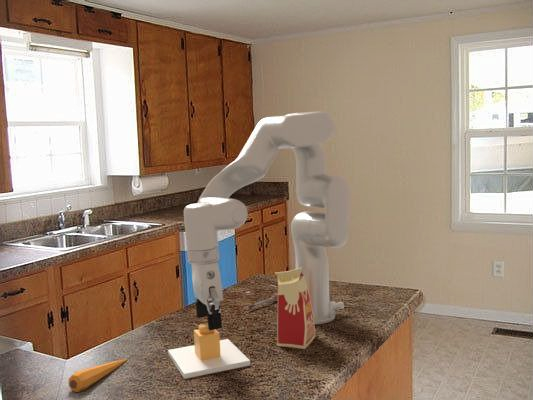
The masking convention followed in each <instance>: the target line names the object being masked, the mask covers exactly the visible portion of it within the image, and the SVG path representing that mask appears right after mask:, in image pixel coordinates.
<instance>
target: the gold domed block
mask: <svg viewBox="0 0 533 400" xmlns="http://www.w3.org/2000/svg"><path fill="white" fill-rule="evenodd" d="M193 339H194V340H193V341H194V343H193V345H195V354H196V355H197V357H198V358H199V359H200V360H201V361H202V360H207V359H212V358H217V357H221V355H220V340H221V339H220V332H219V331H218V329H215V330H211V331H210V330H209V329H208V322H204V323H201V324H198V329H194V330H193Z"/></svg>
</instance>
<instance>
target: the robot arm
mask: <svg viewBox="0 0 533 400" xmlns="http://www.w3.org/2000/svg"><path fill="white" fill-rule="evenodd" d="M335 128H336V127H335V121H334V119H333V117H332V115H330V114H329V113H328V112H325V111H321V110H320V111H307V112H305V111H303V112H293V113H287V114H285V115H274V116H266V117H264V118H262V119H261V120H259V121H258V123H256V126H255V127H254V129H253V130H252V132H251V134H250V136H249V137H248V139H247V141H246V142H245V144H244V145H243V146H242V147H243V148H242V149H241V150H240V152H239V154H238V156H237V157H236V159H235V160H234V161H232V162H231V163H229V164H228V165H227V166H225V167H224V168H223V169H222V170H221V171H220V172H218V173H217V174H216V175H215V176H214V177H213V178H212V179H211V180H210V181H209V182H208V183H207V184H206V186H205V188H204V189H203V191H202V193H201V195H200V196H199V198H198V200H197V202H196V203H190V204H188V205H186V206H185V207H184V209H183V219H184V221H183V222H184V232H185V233H184V234H185V242H186V244H185V245H186V252H187V263H189V265H191V279H192V289H193V295H194V296H195V297H194V298H195V299H194V300H195V311H196V317H197V318H198V319H200V318H201V319H202V318H205V317H206V318H207V323H208V329H209V330H210V331H211V330H215V329H216V330H218V329H222V328H223V323H222V314H221V313H222V310H221V304H220V303H222V302H223V300H224V295H223V285H222V277H221V272H220V267H219V266H220V265H219V263H218V262H219V260H220V252H219V237H218V232H219V231H229V230H236V229H239V228H241V227H242V226H243V225H244V224H245V222H246V221H247V219H248V215H249V214H248V209H247V206H246V205H245V203H243V202H242V201H241V200H238V199H236V198H231V196H232V194H234V193H235V192H236V191H238V190H240V189H242V188H243V187H245V186H248V185H251V184H253V183H256V182H258V181H259V180H261V179H263V178H264V177H265V176H266V175H267V173H268V171H269V169H270V167H271V165H272V164H273V162H274V160H275V158H277V155H278V154H279V151H280V150H281V149H291V150H292V151H293V153H294V157H295V161H296V162H295V163H296V184H295V186H296V188H295V189H296V190H295V191H296V199H297V201H298V203H299V204H300V205H302V206H304V207H310V208H320V209H321V208H322V209H324V212H321V211H311V210H309V211H307V210H305V211H300V212H299V213H297V214H296V215H295V216H293V219H292V221H291V223H290V234H291V238H292V243H293V248H294V258H295V269H297V268H301V267H302V270H301V272H302V274H303V275H304V278H305V281H306V285H307V289H308V292H309V296H310V301H311V306H312V312H313V317H314V326H315V325H323V324H327V323H331V322H332V321H334V320H335V319H336V314H335V310H340V309H344V308H345V303H344V301H339V302H336V301H335V300H333V301H330V279H329V257H328V253H327V250H326V248H332V249H337V248H338V249H339V248H341V247H343V246H344V245H346V243H347V241H348V239H349V235H350V228H351V226H350V224H351V223H350V222H351V191H350V187H349V183H348V182H347V180H346V179H345V177H343V176H341V175H338V174H328V173H327V161H326V160H327V159H326V158H327V156H326V154H325V150H324V148H323V146H322V144H325V143H327V142H328V141H329V140H331V138H332V137H333V135H334V132H335Z"/></svg>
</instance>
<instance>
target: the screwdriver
mask: <svg viewBox="0 0 533 400" xmlns="http://www.w3.org/2000/svg"><path fill="white" fill-rule="evenodd" d="M271 295H272V296H271V297H270V298H269V297H268V298H267V299H264V300H261V301H259V302H255V303H253V304H250V305H248V306H246V309H251V308H254V307H257V306H260V305H262V304H265V303H268V302H270V301H273V302H275V301H276V302H278V292H277V293H273V294H271Z"/></svg>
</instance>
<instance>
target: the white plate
mask: <svg viewBox="0 0 533 400" xmlns="http://www.w3.org/2000/svg"><path fill="white" fill-rule="evenodd" d="M167 353H168V354H167V355H168V357H169V358H170V360H171V362H173V364H174V365H175V367H176V368H177V370H178V371H179V373H180V375H181V377H183V379H184V380H187V379H191V378H195V377H199V376H200V377H201V376H205V375H209V374H216V373H220V372H224V371H230V370H234V369H239V368H245V367H248V366H251V360H250V359H249V358H248V357H247V356H246V355H245V354H244V353H243V352H242V351H241V350H240V349H239V348H238V347H237V346H236V345H235V344H234V343H233V342H231V340H230V339H228V338H225V339H220V355H221V357H217V358H212V359H207V360H202V361H201V360H200V359H199V358H198V357H197V355H196V354H195V345H194V344H193V345H188V346H187V345H186V346H182V347H177V348H176V347H175V348H172V349H167Z"/></svg>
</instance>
